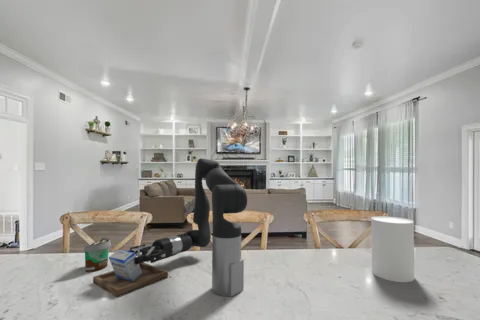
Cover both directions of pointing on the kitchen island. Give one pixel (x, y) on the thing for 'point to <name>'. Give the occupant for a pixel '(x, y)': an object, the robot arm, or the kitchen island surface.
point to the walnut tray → (124, 286)
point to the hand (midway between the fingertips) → (128, 258)
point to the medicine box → (125, 265)
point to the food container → (97, 255)
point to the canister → (393, 248)
